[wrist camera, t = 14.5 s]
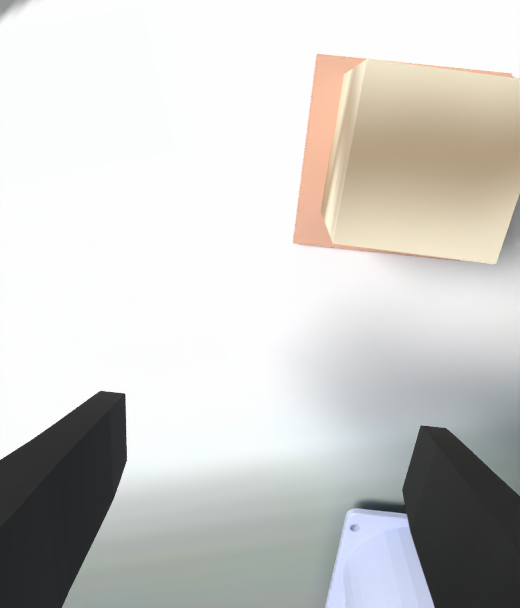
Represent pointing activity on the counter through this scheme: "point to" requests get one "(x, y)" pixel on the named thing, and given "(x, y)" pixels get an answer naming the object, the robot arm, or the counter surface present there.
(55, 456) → the robot arm
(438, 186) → the block
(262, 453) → the counter surface
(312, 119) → the pad
